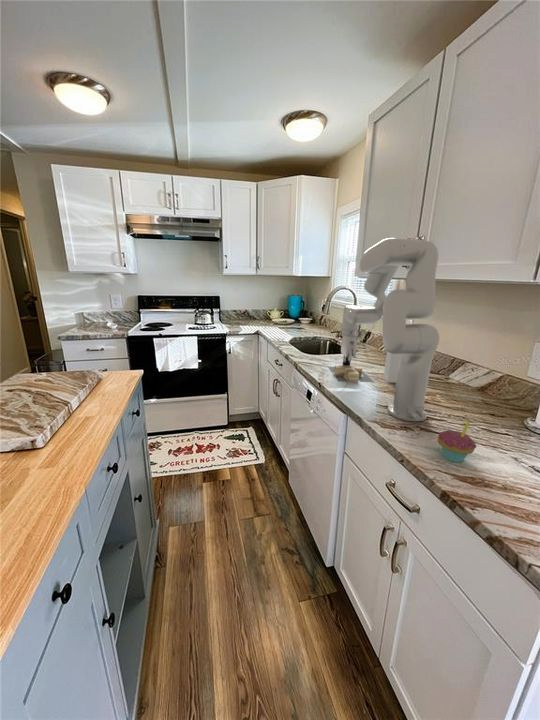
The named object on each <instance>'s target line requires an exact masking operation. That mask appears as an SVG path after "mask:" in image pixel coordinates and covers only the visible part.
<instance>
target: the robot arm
mask: <svg viewBox="0 0 540 720" xmlns="http://www.w3.org/2000/svg"><path fill="white" fill-rule="evenodd" d="M438 262H439V250H438V247H437V246H436V245H435V243H433V242H432V241H429V240H426V239H425V240H424V239H418V238H417V239H415V238H397V237H389V238H385V239H382V240H381V241H379V242H377V243H376V244H374V245H373V246H371V247H369V248H368V249H367V250H366V251H365V252H363V254H362V255H361V258H360V260H359V269H360V272H362V273H363V274H367V275H368V276H367V279H366V280H365V282H364V284H363V285H364V286H363V289H364V290H365V292H366V293H367V294H368V295H370V296H372V297H374V298H376V300H375V303H374V304H373V305H372V306H362V307H360V306H358V305H352V304H350V305H346V306H344V307H343V314H342V324H341V332H340V333H341V334H340V335H341V336H342V337H341V338H342V339H341V345H340V353H341V354H342V364H341V366H351V362H352V360H353V358H356V357H357V345H358V335H359V327H360V325H361V326H362V325H363V326H364V325H375V324H377V323H378V322H380V321H381V320H382V343H383V347H384V350H386V352H387V351H388V352H389V353H392V354H404V355H403V357H402V359H401V361H400V364H399V369H398V375H397V382H396V383H395V389H394V390H395V391H394V396H393V402H392V403H391V404H389V405H388V406H387V412H388V413H389V414H390V415H391V416H393V417H394V418H397V419H399V420H404V421H408V422H423V421H426V419H428V418H427V417H428V413H427V411H426V410H424V405H425V400H426V395H427V389H428V383H429V378H430V373H431V367H432V363H433V360H434V359H433V358H434V356H435V353H436V351H437V348H438V346H439V342H440V333H439V331H438V329H437V328H436V327H435V326H433V325H431V324H428V323H407V321H408V320H411V321H412V320H413V321H414V320H424V319H425V320H426V319H428V318H430V317H431V316H432V315H433V314H434V311H435V307H436V306H435V305H436V276H437V275H436V273H437V268H438V267H437V266H438ZM403 266H404V267H410V268H409V269H408V271H407V273H406V277H405V288H404V289H403V288H398V289H394V290H391V291H390V292H389V293H388V294H387V295H386V290H387V289H388V287H389V285H390V284H391V282H392V279H393V278H394V276H395V274H396V272H397V270H398V268H399V267H403Z"/></svg>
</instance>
